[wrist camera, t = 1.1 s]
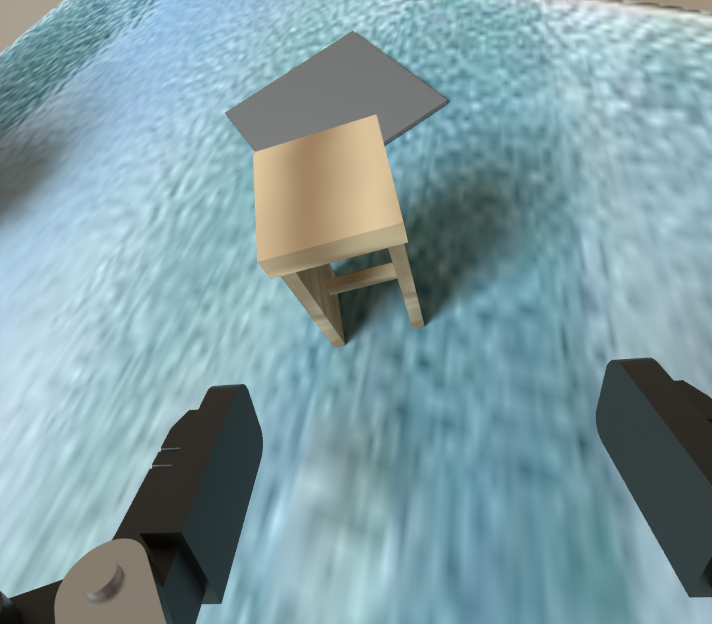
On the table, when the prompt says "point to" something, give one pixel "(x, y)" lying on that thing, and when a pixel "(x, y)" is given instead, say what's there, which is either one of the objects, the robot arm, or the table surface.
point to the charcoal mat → (336, 96)
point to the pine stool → (330, 218)
